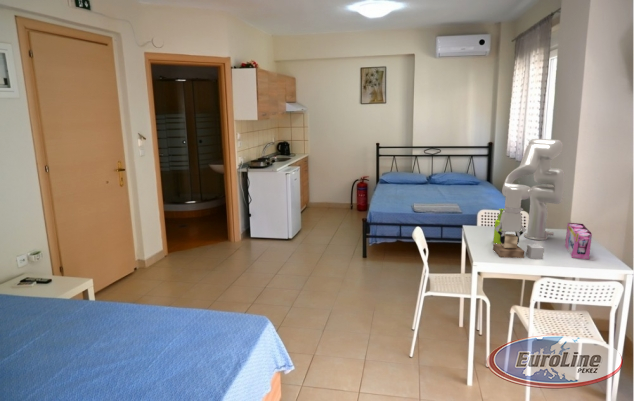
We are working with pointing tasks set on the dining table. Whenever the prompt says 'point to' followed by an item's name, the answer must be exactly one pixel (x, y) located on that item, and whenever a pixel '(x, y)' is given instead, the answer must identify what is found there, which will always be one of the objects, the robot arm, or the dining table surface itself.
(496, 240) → the soap dispenser
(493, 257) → the dining table surface
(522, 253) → the walnut block
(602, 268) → the dining table surface
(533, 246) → the grey cube
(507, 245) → the maple cube
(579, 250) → the gum box
